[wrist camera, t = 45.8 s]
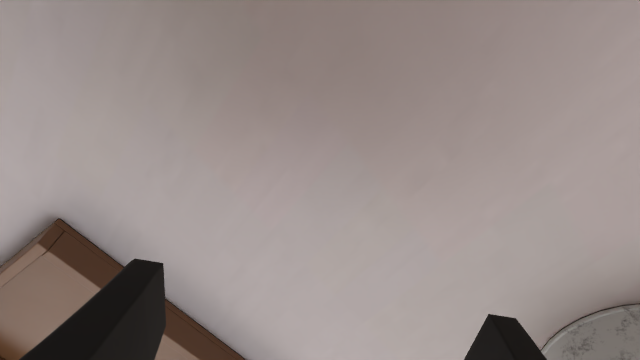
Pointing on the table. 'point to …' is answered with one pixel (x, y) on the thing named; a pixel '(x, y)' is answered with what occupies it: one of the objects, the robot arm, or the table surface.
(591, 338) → the gray speckled cylinder
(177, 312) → the tray
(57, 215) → the table surface
